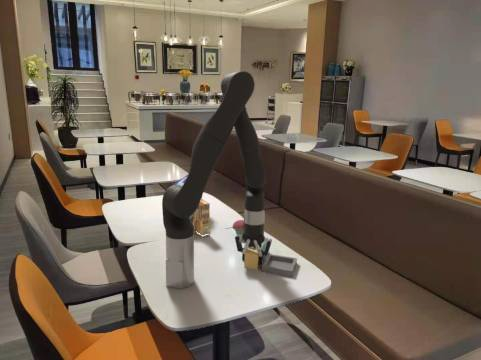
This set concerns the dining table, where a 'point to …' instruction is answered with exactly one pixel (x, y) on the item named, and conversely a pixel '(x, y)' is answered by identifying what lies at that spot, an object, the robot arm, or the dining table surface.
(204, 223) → the candy box
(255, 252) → the tan box block
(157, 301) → the dining table surface
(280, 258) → the tray
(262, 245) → the teal box with tabs
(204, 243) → the dining table surface
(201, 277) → the dining table surface
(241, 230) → the cupcake
